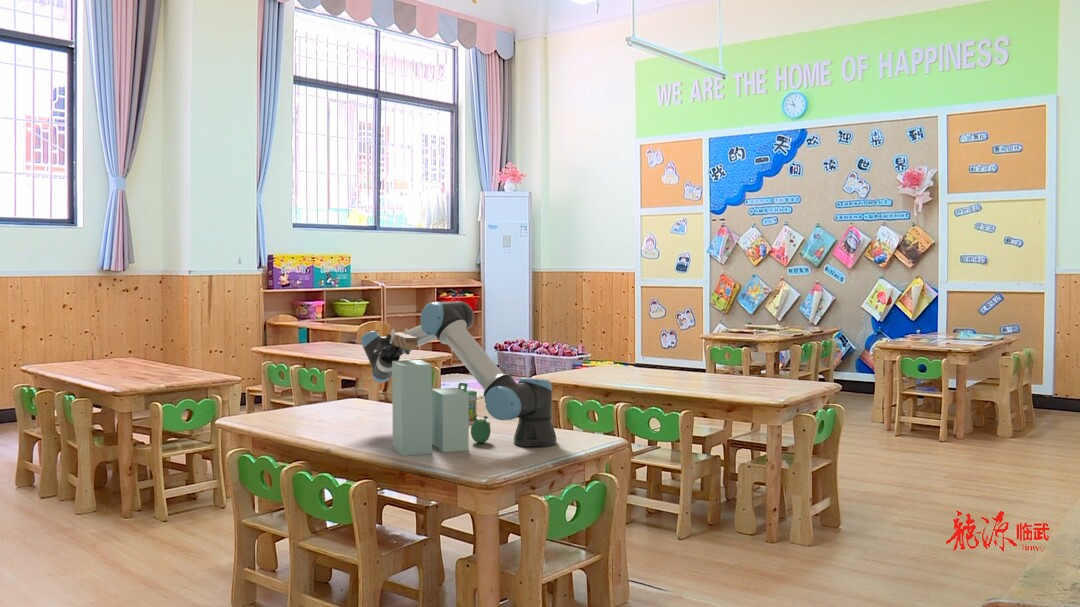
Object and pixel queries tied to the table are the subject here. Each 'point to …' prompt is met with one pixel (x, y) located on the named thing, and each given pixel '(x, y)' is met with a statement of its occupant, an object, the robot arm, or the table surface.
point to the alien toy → (480, 430)
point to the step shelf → (426, 412)
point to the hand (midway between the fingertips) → (400, 332)
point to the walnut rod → (405, 341)
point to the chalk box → (470, 400)
